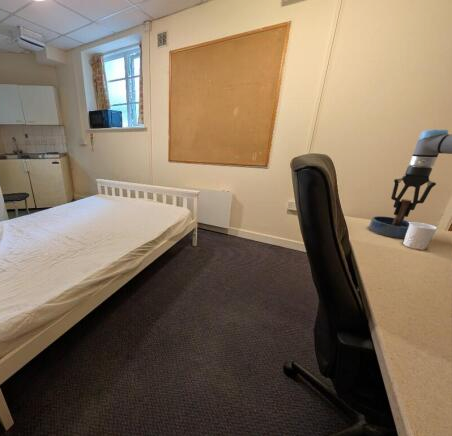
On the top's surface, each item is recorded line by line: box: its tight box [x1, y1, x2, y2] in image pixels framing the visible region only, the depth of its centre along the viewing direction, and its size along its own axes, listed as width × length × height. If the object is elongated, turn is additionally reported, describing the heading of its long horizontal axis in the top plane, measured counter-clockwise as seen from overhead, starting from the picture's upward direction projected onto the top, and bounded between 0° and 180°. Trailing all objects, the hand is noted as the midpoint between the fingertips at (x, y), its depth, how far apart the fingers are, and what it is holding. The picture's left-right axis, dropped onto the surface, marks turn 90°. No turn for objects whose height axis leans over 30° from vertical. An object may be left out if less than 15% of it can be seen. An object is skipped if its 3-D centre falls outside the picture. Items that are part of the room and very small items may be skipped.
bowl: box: [368, 215, 412, 239], centre depth 110 cm, size 15×16×6 cm
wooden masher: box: [392, 198, 412, 227], centre depth 107 cm, size 5×5×15 cm
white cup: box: [403, 221, 438, 251], centre depth 96 cm, size 8×8×10 cm
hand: (400, 215), depth 107 cm, fingers closed on wooden masher, 3 cm apart
